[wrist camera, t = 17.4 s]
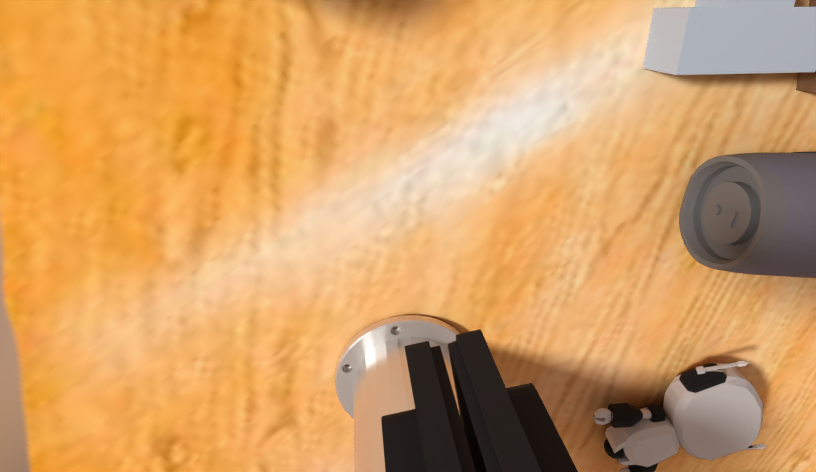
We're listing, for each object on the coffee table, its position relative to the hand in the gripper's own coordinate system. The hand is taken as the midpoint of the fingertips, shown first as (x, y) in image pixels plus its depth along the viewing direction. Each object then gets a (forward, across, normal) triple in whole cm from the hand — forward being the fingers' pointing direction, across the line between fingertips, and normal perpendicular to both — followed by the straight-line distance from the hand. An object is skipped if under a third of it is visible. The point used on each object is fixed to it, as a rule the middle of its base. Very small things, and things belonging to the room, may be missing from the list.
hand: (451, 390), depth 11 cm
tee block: (+27, -25, -4) cm, 37 cm away
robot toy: (+28, -23, +34) cm, 49 cm away
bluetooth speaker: (+27, -34, +12) cm, 45 cm away
